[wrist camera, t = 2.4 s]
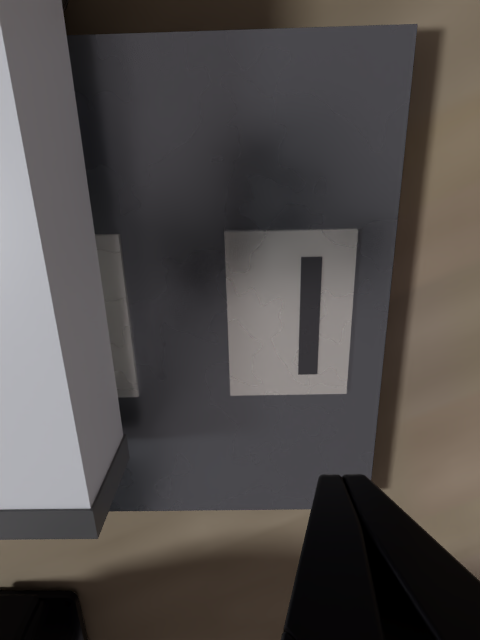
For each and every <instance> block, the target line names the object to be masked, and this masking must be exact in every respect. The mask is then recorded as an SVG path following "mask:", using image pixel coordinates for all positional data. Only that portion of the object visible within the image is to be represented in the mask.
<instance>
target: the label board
mask: <svg viewBox="0 0 480 640" xmlns="http://www.w3.org/2000/svg"><path fill="white" fill-rule="evenodd" d="M67 3H68V0H62V7H63V12H64V10H65V8H66V6H67ZM416 34H417V24H404V25H373V26H342V27H311V28H280V29H249V30H218V31H188V32H157V33H126V34H95V35H67V42H68V49H69V56H70V63H71V70H72V77H73V84H74V91H75V98H76V105H77V112H78V119H79V127H80V134H81V141H82V148H83V155H84V162H85V169H86V176H87V183H88V190H89V197H90V204H91V211H92V218H93V225H94V232H95V239H96V246H97V253H98V260H99V268H100V275H101V282H102V289H103V296H104V303H105V310H106V317H107V324H108V331H109V338H110V345H111V352H112V359H113V366H114V373H115V380H116V387H117V394H118V402H119V409H120V416H121V423H122V430H123V434H126V435H127V443H128V450H129V457H130V458H129V461H128V463H127V466H126V468H125V471H124V473H123V476H122V479H121V481H120V484H119V486H118V489H117V491H116V494H115V496H114V499H113V501H112V504H111V506H110V509H109V511H181V510H275V509H311V508H312V504H313V500H314V495H315V491H316V487H317V482H318V478H319V476H320V475H322V474H339V475H340V476H341V477H342V476H343V475H344V474H363V475H365V476H366V477H368V478H369V479H370V480H371V476H372V466H373V457H374V447H375V437H376V427H377V417H378V407H379V398H380V388H381V378H382V368H383V358H384V348H385V339H386V329H387V319H388V309H389V299H390V289H391V280H392V270H393V260H394V250H395V240H396V230H397V221H398V211H399V201H400V191H401V181H402V171H403V162H404V152H405V142H406V132H407V122H408V112H409V103H410V93H411V83H412V73H413V63H414V53H415V44H416Z"/></svg>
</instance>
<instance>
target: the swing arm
mask: <svg viewBox="0 0 480 640" xmlns="http://www.w3.org/2000/svg"><path fill="white" fill-rule="evenodd" d="M129 458H130V457H129V450H128V443H127V435H126V434H123V430H122V423H121V416H120V409H119V402H118V394H117V387H116V380H115V373H114V366H113V359H112V352H111V345H110V338H109V331H108V324H107V317H106V310H105V303H104V296H103V289H102V282H101V275H100V268H99V260H98V253H97V246H96V239H95V232H94V225H93V218H92V211H91V204H90V197H89V190H88V183H87V176H86V169H85V162H84V155H83V148H82V141H81V134H80V127H79V119H78V112H77V105H76V98H75V91H74V84H73V77H72V70H71V63H70V56H69V49H68V42H67V35H66V28H65V21H64V14H63V7H62V0H0V540H8V539H98V537H99V534H100V532H101V529H102V527H103V524H104V522H105V519H106V517H107V514H108V512H109V509H110V506H111V504H112V501H113V499H114V496H115V494H116V491H117V489H118V486H119V484H120V481H121V479H122V476H123V473H124V471H125V468H126V466H127V463H128V461H129Z"/></svg>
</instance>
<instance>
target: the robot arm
mask: <svg viewBox="0 0 480 640" xmlns="http://www.w3.org/2000/svg"><path fill="white" fill-rule="evenodd" d="M0 640H88V639H87V635H86V630H85V626H84V621H83V617H82V612H81V608H80V603H79V598H78V596H77V594H76V593H74V592H72V591H0ZM281 640H480V581H479V580H478V579H477V578H476V577H475V576H474V575H472V574H471V573H470V572H469V571H468V570H467V569H466V568H465V567H464V566H463V565H462V564H461V563H460V562H458V561H457V560H456V559H455V558H454V557H453V556H452V555H451V554H450V553H449V552H448V551H447V550H445V549H444V548H443V547H442V546H441V545H440V544H439V543H438V542H437V541H436V540H435V539H434V538H432V537H431V536H430V535H429V534H428V533H427V532H426V531H425V530H424V529H423V528H422V527H421V526H419V525H418V524H417V523H416V522H415V521H414V520H413V519H412V518H411V517H410V516H409V515H408V514H407V513H405V512H404V511H403V510H402V509H401V508H400V507H399V506H398V505H397V504H396V503H395V502H394V501H392V500H391V499H390V498H389V497H388V496H387V495H386V494H385V493H384V492H383V491H382V490H381V489H379V488H378V487H377V486H376V485H375V484H374V483H373V482H372V481H371V480H370V479H369V478H368V477H366V476H365V475H363V474H344V475H343V476H342V477H341V476H340V475H339V474H322V475H320V476H319V478H318V482H317V487H316V491H315V495H314V500H313V504H312V508H311V513H310V517H309V521H308V526H307V530H306V534H305V539H304V543H303V547H302V551H301V556H300V560H299V564H298V569H297V573H296V577H295V582H294V586H293V590H292V595H291V599H290V603H289V608H288V612H287V616H286V621H285V625H284V633H283V634H282V637H281Z"/></svg>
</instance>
